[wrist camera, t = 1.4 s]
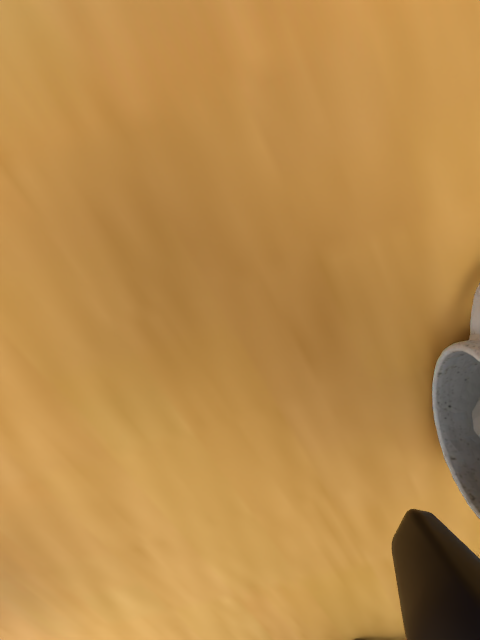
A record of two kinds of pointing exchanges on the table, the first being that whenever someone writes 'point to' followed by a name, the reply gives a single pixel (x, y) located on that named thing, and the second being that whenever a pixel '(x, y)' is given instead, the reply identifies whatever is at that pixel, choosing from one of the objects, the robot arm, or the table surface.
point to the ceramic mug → (461, 409)
